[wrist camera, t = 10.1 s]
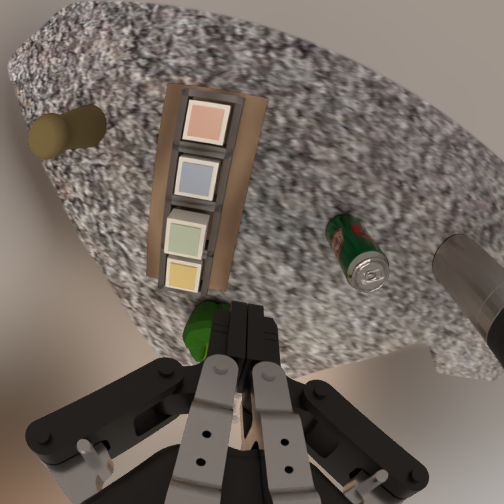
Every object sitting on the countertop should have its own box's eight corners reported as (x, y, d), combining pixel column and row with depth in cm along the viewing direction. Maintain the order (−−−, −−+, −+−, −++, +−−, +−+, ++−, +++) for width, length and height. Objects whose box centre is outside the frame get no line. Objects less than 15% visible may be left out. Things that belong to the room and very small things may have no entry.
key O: (232, 105, 31) (230, 106, 29) (224, 142, 33) (222, 145, 31) (194, 99, 31) (188, 99, 28) (187, 136, 33) (181, 139, 30)
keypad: (267, 98, 33) (269, 98, 29) (226, 287, 45) (224, 304, 41) (170, 83, 32) (160, 81, 28) (148, 271, 44) (140, 287, 40)
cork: (113, 132, 34) (69, 146, 25) (81, 155, 36) (35, 176, 26) (95, 96, 32) (47, 99, 22) (64, 120, 33) (14, 132, 23)
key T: (221, 158, 34) (218, 163, 31) (214, 193, 36) (211, 201, 33) (185, 152, 34) (178, 157, 31) (179, 187, 36) (173, 195, 33)
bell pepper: (210, 282, 45) (201, 327, 36) (251, 312, 47) (251, 359, 39) (179, 313, 48) (166, 358, 39) (218, 339, 50) (212, 385, 42)
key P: (204, 253, 40) (201, 265, 37) (200, 280, 42) (197, 294, 39) (172, 247, 40) (166, 259, 37) (170, 274, 42) (164, 287, 39)
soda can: (324, 215, 40) (349, 258, 29) (359, 211, 40) (394, 252, 29) (325, 248, 42) (347, 299, 32) (359, 244, 42) (390, 291, 31)
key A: (209, 215, 35) (206, 226, 32) (204, 248, 37) (200, 261, 34) (173, 208, 35) (166, 218, 32) (169, 241, 37) (163, 254, 34)
